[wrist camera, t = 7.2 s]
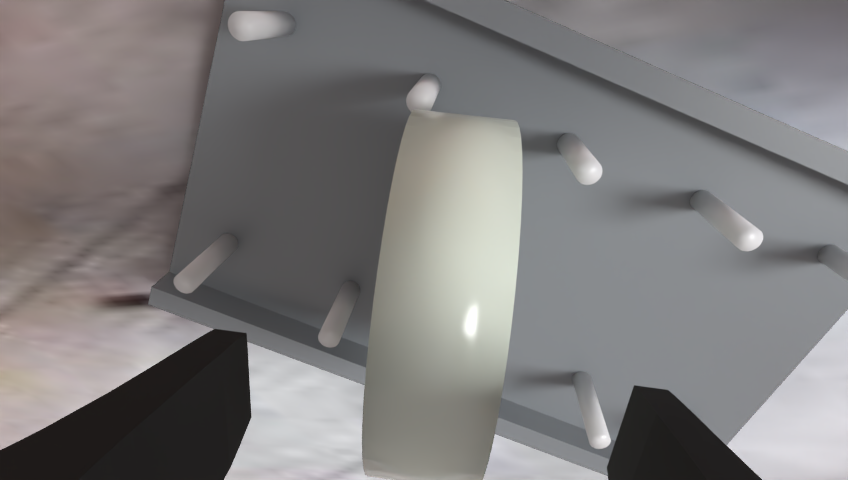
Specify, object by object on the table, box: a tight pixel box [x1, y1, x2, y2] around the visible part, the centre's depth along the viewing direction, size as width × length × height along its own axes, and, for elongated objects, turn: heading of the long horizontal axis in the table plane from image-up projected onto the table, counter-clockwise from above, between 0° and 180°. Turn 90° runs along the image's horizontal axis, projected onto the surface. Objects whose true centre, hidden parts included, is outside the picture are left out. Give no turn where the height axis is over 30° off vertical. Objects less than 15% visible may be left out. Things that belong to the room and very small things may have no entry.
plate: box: [362, 109, 523, 480], centre depth 13 cm, size 2×9×9 cm, turn 174°
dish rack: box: [148, 0, 848, 476], centre depth 17 cm, size 23×14×4 cm, turn 68°
